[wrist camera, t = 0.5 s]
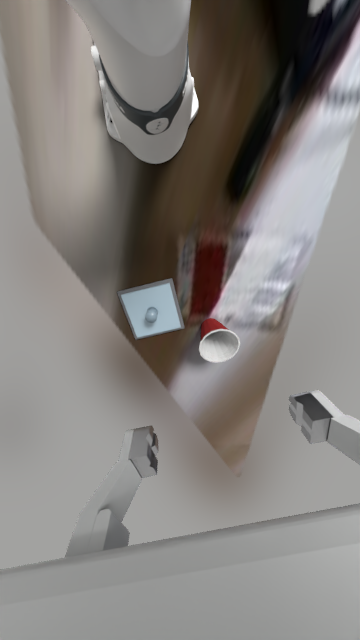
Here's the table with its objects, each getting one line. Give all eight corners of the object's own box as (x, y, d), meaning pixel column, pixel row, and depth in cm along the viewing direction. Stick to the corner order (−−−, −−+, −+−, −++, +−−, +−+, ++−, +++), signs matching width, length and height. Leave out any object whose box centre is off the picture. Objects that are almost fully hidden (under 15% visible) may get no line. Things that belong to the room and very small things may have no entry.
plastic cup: (194, 343, 59) (200, 366, 48) (192, 313, 54) (198, 331, 43) (226, 339, 59) (239, 362, 48) (227, 309, 54) (241, 327, 43)
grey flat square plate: (117, 291, 50) (116, 292, 50) (172, 277, 49) (172, 278, 49) (135, 338, 57) (135, 339, 56) (184, 327, 56) (184, 328, 55)
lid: (121, 294, 50) (117, 299, 46) (169, 282, 49) (169, 286, 45) (137, 336, 56) (135, 344, 51) (180, 326, 55) (181, 333, 51)
